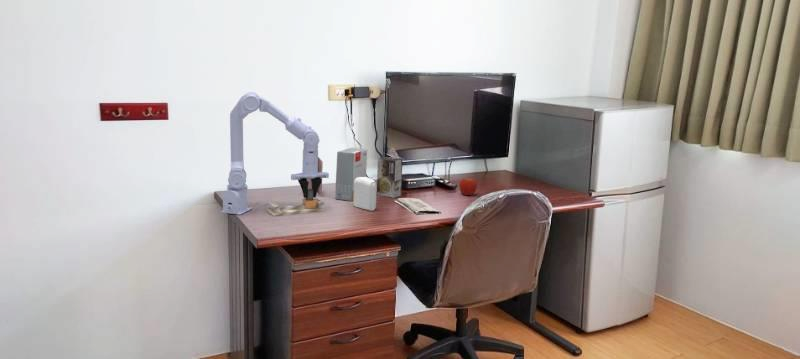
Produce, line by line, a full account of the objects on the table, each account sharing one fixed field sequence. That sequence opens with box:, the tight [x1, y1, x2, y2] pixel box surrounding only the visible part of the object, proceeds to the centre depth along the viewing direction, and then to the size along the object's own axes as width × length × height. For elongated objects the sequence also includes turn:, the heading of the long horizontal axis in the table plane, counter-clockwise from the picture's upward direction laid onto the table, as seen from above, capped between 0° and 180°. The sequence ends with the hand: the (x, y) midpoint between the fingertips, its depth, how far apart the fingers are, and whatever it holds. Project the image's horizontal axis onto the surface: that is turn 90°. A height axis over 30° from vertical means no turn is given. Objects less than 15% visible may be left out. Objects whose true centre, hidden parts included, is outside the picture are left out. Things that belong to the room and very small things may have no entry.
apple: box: [459, 178, 478, 196], centre depth 281 cm, size 8×8×8 cm
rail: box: [266, 198, 325, 217], centre depth 239 cm, size 20×7×4 cm, turn 121°
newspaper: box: [394, 197, 441, 215], centre depth 255 cm, size 23×12×2 cm, turn 20°
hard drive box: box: [334, 147, 368, 202], centre depth 265 cm, size 16×8×20 cm, turn 161°
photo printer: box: [352, 176, 377, 211], centre depth 248 cm, size 10×4×12 cm, turn 47°
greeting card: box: [306, 156, 324, 198], centre depth 267 cm, size 11×7×15 cm, turn 161°
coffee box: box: [376, 156, 403, 198], centre depth 272 cm, size 9×6×16 cm
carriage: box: [301, 189, 317, 208], centre depth 241 cm, size 4×4×7 cm
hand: (309, 197), depth 241 cm, fingers closed on carriage, 3 cm apart
